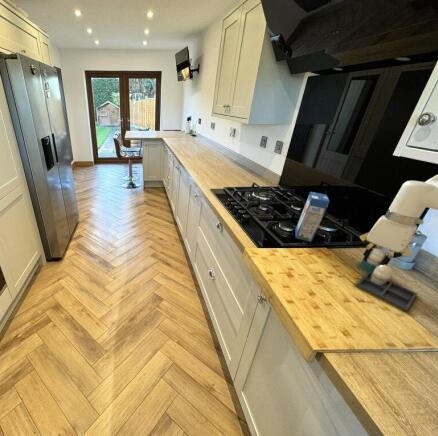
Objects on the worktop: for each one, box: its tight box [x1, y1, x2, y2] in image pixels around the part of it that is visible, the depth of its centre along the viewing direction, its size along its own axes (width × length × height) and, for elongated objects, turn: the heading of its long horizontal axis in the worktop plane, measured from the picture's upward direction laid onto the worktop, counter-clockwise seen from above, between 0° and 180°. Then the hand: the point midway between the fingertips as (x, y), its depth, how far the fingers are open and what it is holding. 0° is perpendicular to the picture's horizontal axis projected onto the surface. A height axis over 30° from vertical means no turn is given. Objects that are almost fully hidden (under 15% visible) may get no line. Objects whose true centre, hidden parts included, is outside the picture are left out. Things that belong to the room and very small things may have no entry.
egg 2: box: [371, 264, 393, 285], centre depth 80 cm, size 4×4×7 cm
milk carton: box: [294, 191, 330, 243], centre depth 106 cm, size 10×6×20 cm, turn 151°
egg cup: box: [359, 258, 376, 273], centre depth 88 cm, size 6×6×4 cm
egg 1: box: [367, 247, 387, 267], centre depth 86 cm, size 4×4×7 cm
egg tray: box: [355, 272, 418, 313], centre depth 78 cm, size 13×13×2 cm
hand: (374, 261), depth 87 cm, fingers closed on egg 1, 4 cm apart
